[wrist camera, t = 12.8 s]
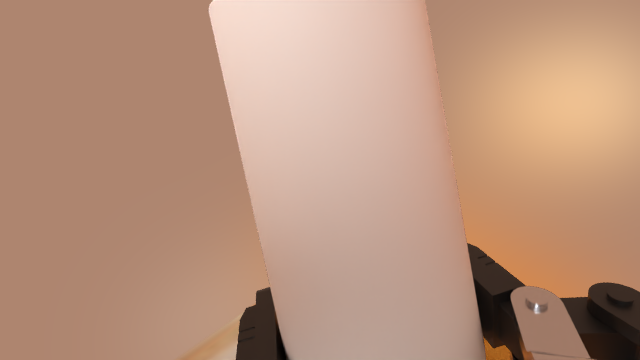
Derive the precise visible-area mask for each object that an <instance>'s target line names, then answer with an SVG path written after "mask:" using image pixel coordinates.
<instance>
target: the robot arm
mask: <svg viewBox="0 0 640 360" xmlns="http://www.w3.org/2000/svg"><path fill="white" fill-rule="evenodd" d="M467 246H468V252H469V258H470V264H471V270H472V275H473V281H474V287H475V293H476V299H477V304H478V310H479V316H480V322H481V328H482V333H483V337H484V338H485V339H486V340H487V341H488V343H489V344H490V345H491V346H492V347H493V348H496V347H499V346H502V345H505V346H506V347H507V348H508V349H509V350H510V360H640V292H638V291H637V290H635V289H632V288H630V287H627V286H624V285H620V284H615V283H597V284H595V285H592V286H591V287H590V288H589V292H588V297H577V298H559V297H557V296H556V295H555V294H553V293H552V292H550V291H548V290H545V289H542V288H539V287H532V286H525V285H524V284H523V283H522V282H520V281H519V280H518V279H517V278H515V277H514V276H513V275H512V274H510V273H509V272H508V271H507V270H505V269H504V268H503V267H501V266H500V265H499V264H498V263H495V261H494V260H493V259H491V258H490V257H489V256H487V254H485V253H484V252H483V251H482V250H480V249H479V248H478V247H476V246H473V245H471V244H468V243H467ZM236 360H286V356H285V352H284V347H283V343H282V338H281V334H280V329H279V325H278V320H277V316H276V311H275V307H274V302H273V298H272V293H271V289H270V287H269V288H265V289H262V290H259V291H257V293H256V305H255V306H251V307H248V308H246V310H245V312H244V313H243V315H242V317H241V319H240V325H239V335H238V344H237V354H236Z"/></svg>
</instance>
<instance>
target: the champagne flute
mask: <svg viewBox="0 0 640 360" xmlns="http://www.w3.org/2000/svg"><path fill="white" fill-rule="evenodd" d="M209 15H210V19H211V24H212V28H213V33H214V37H215V42H216V46H217V51H218V55H219V60H220V64H221V69H222V73H223V78H224V82H225V87H226V91H227V96H228V99H229V104H230V109H231V114H232V118H233V123H234V127H235V132H236V136H237V141H238V145H239V149H240V154H241V159H242V163H243V167H244V172H245V177H246V181H247V186H248V190H249V194H250V199H251V203H252V208H253V212H254V217H255V221H256V226H257V230H258V235H259V239H260V244H261V248H262V252H263V257H264V262H265V266H266V271H267V275H268V280H269V284H270V289H271V293H272V298H273V302H274V307H275V311H276V316H277V320H278V325H279V329H280V334H281V338H282V343H283V347H284V352H285V356H286V360H486V354H485V345H484V339H483V333H482V328H481V322H480V316H479V310H478V304H477V299H476V293H475V287H474V281H473V275H472V270H471V264H470V258H469V252H468V246H467V241H466V235H465V229H464V223H463V218H462V212H461V206H460V200H459V194H458V188H457V182H456V177H455V171H454V165H453V159H452V154H451V148H450V142H449V137H448V130H447V125H446V119H445V113H444V107H443V101H442V96H441V90H440V84H439V78H438V72H437V67H436V62H435V56H434V49H433V44H432V37H431V31H430V27H429V20H428V14H427V9H426V3H425V0H213V1H212V3H211V4H210V5H209Z"/></svg>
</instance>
